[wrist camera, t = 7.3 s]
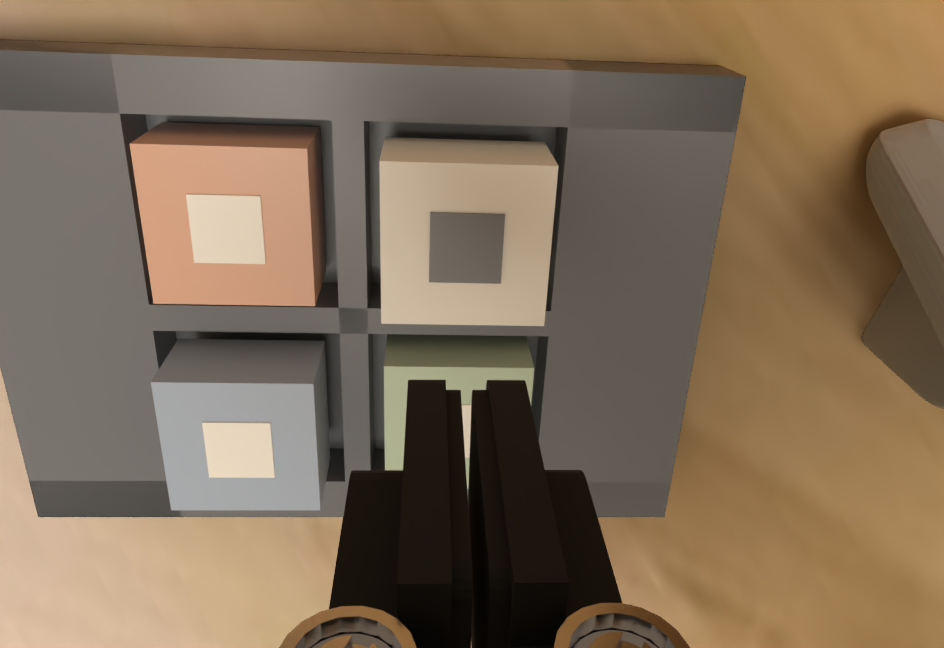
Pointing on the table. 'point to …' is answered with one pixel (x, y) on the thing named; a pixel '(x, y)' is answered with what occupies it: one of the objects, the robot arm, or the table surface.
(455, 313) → the key ivory
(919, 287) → the digital clock
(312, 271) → the key terracotta
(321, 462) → the key slate
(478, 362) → the key sage
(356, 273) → the keypad frame
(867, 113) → the table surface
